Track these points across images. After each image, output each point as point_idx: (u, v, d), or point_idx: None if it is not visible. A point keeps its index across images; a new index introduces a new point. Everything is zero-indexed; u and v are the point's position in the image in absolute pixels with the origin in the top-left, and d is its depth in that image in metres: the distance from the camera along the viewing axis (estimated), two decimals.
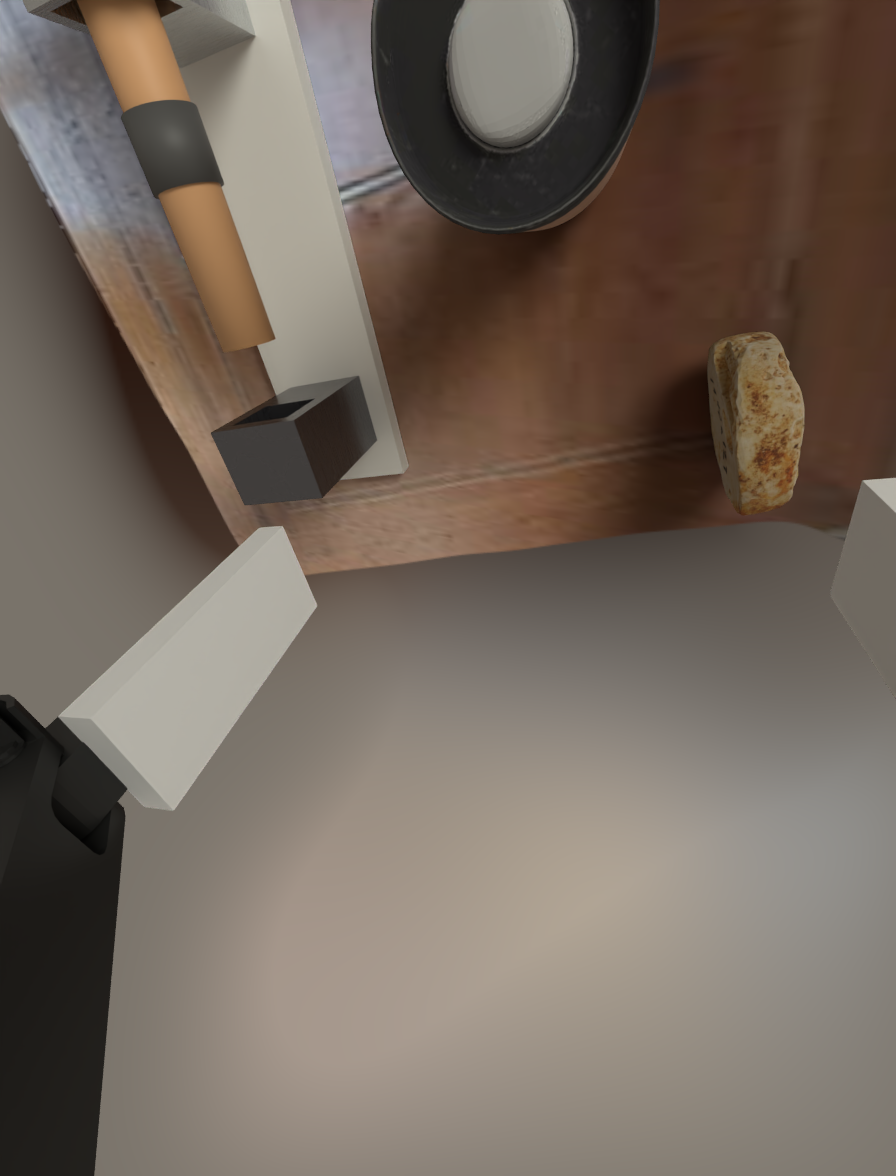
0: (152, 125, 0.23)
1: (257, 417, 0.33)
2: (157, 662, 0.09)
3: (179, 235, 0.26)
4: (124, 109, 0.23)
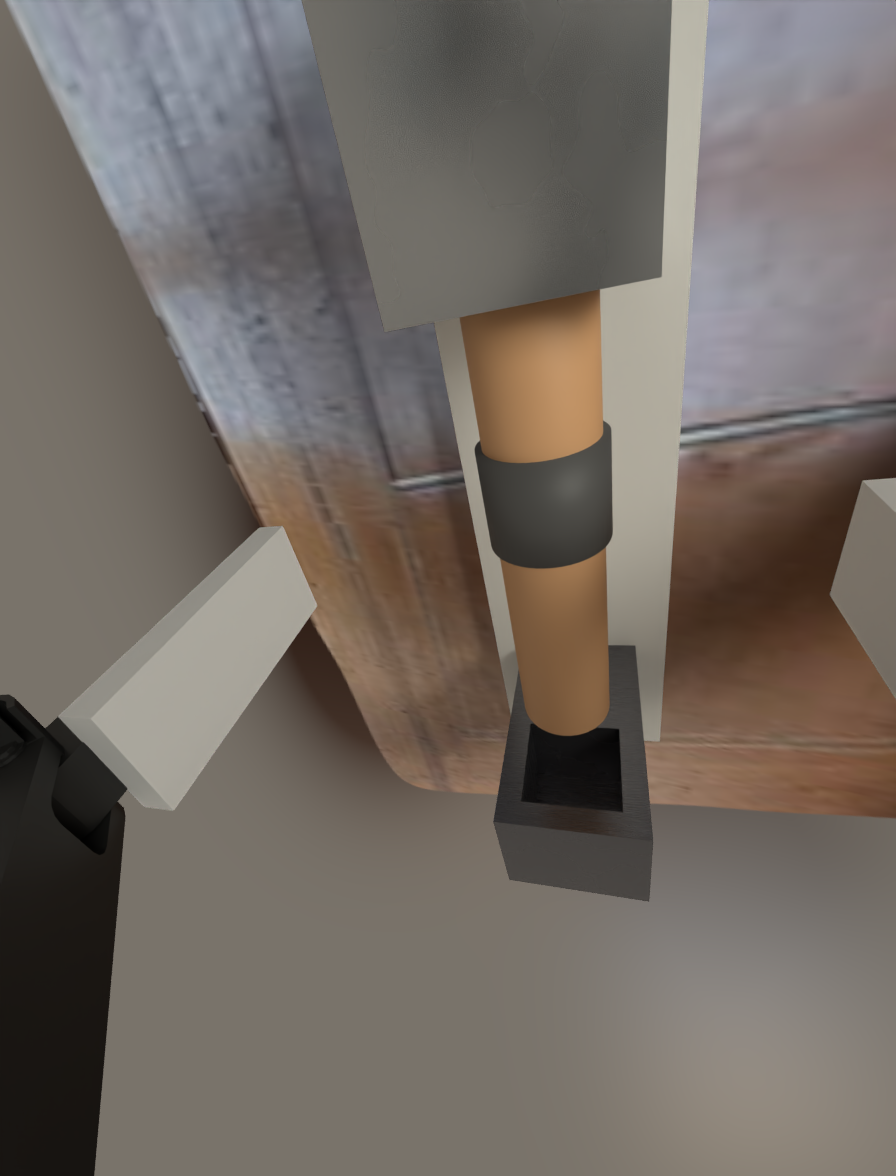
0: (555, 486, 0.12)
1: (528, 751, 0.23)
2: (157, 662, 0.09)
3: (532, 612, 0.15)
4: (500, 455, 0.12)
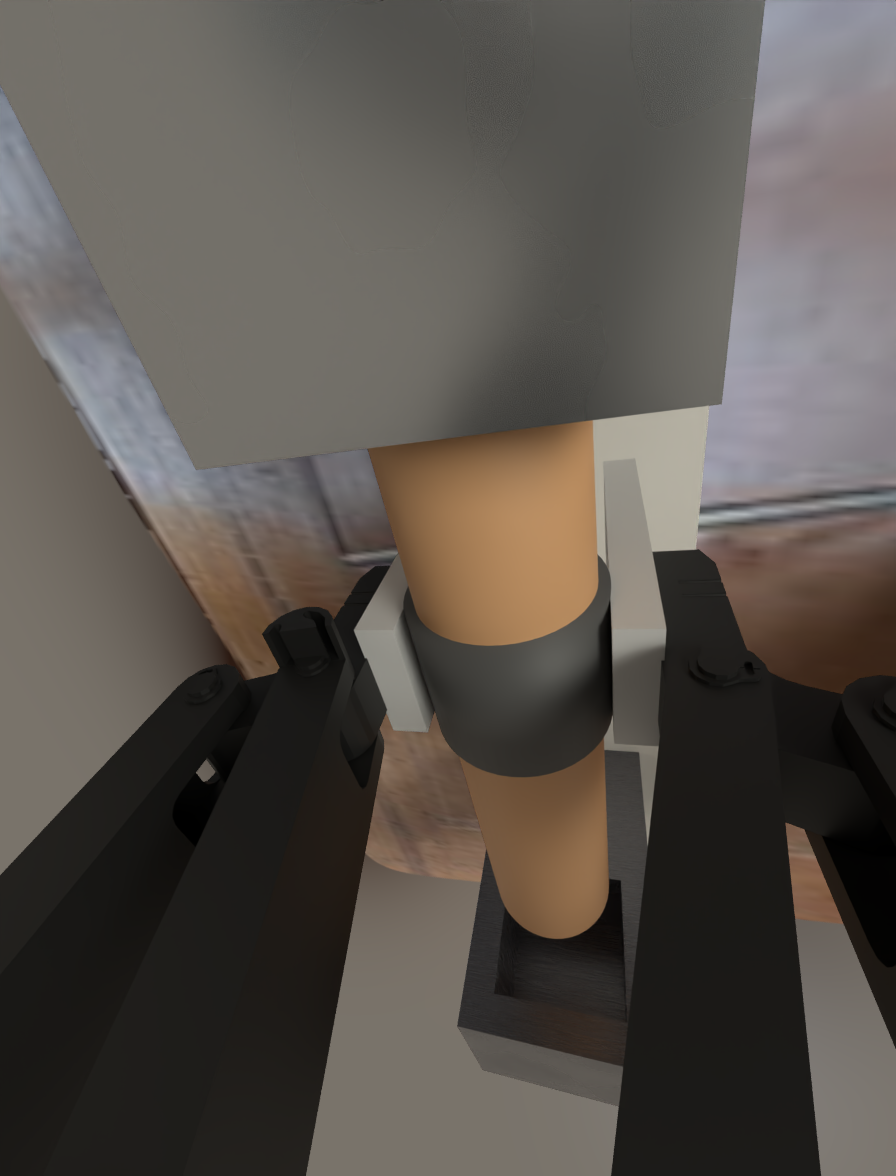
0: (523, 676, 0.08)
1: None
2: None
3: (497, 813, 0.10)
4: (435, 626, 0.08)
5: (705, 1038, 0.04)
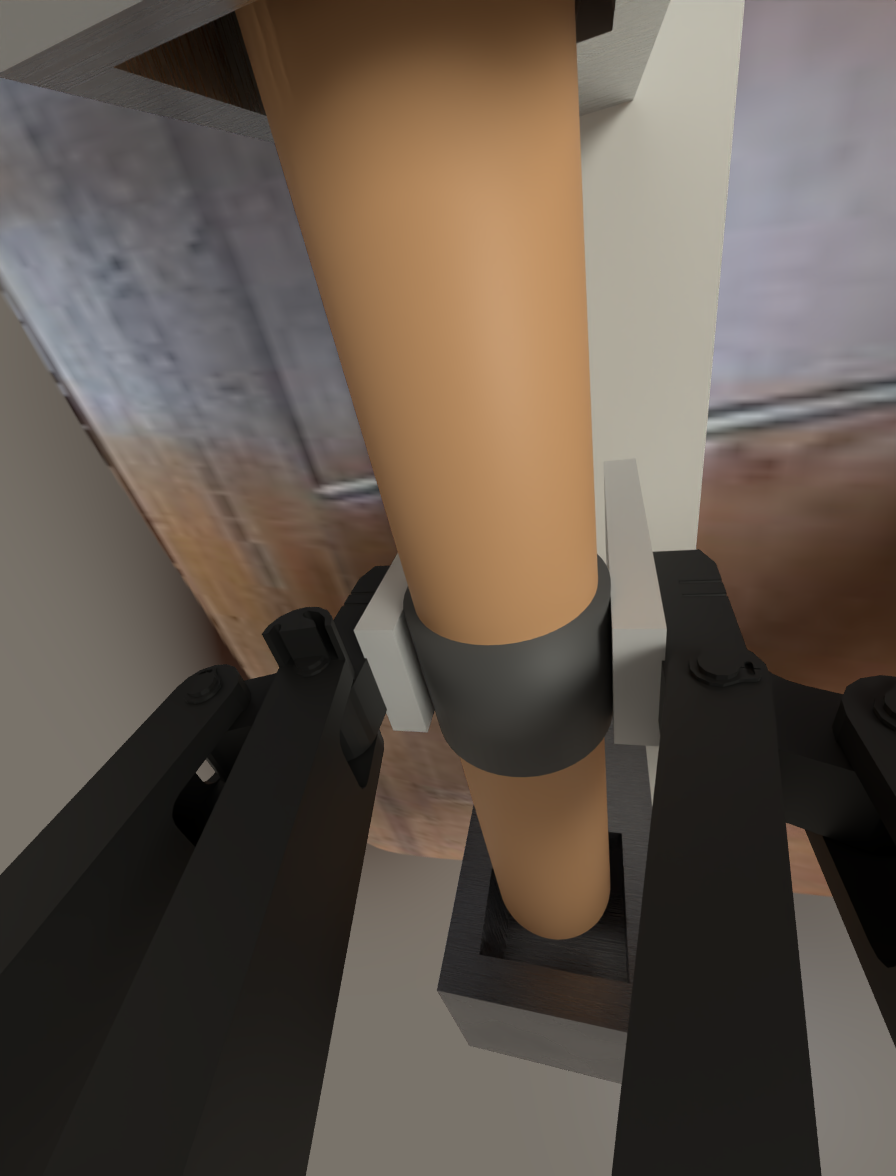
0: (522, 676, 0.08)
1: None
2: None
3: (498, 813, 0.10)
4: (435, 625, 0.08)
5: (705, 1037, 0.04)
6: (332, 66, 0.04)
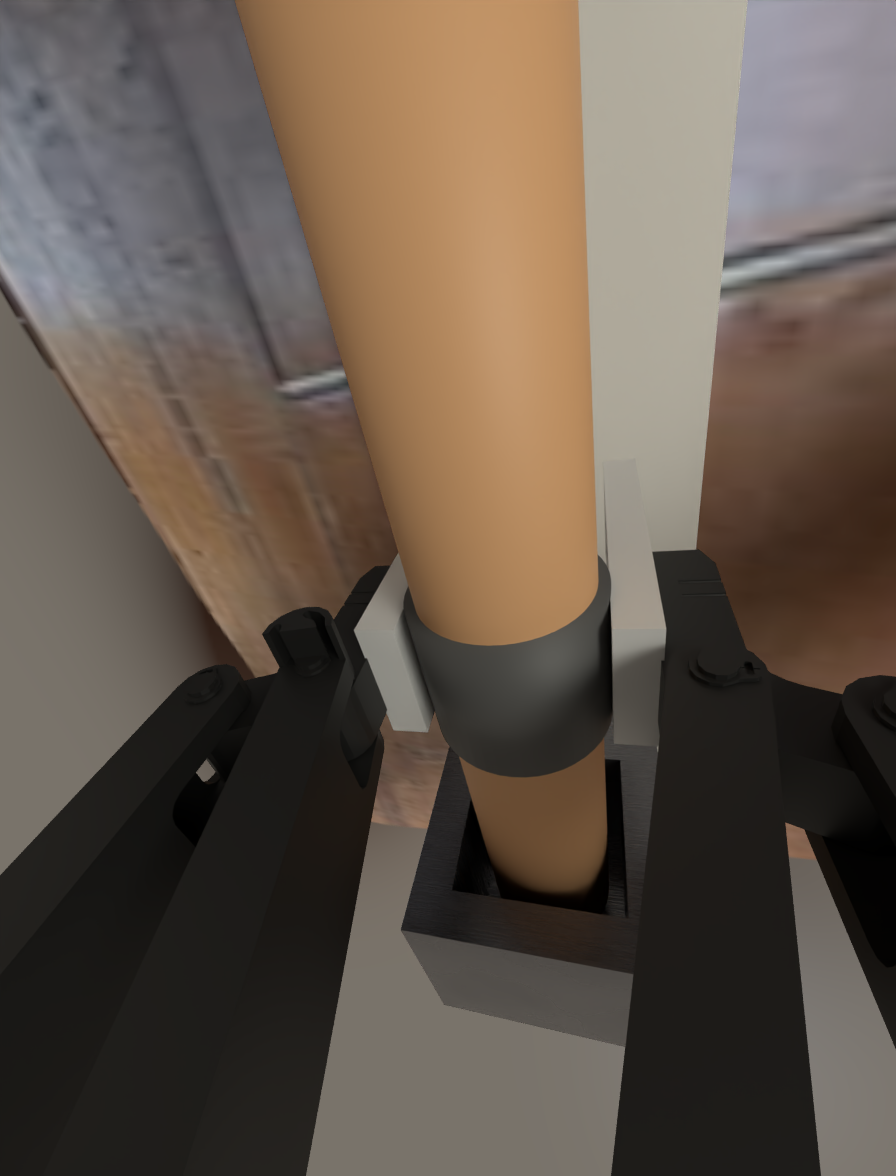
0: (523, 676, 0.08)
1: None
2: None
3: (497, 813, 0.10)
4: (435, 626, 0.08)
5: (704, 1037, 0.04)
6: (335, 65, 0.04)
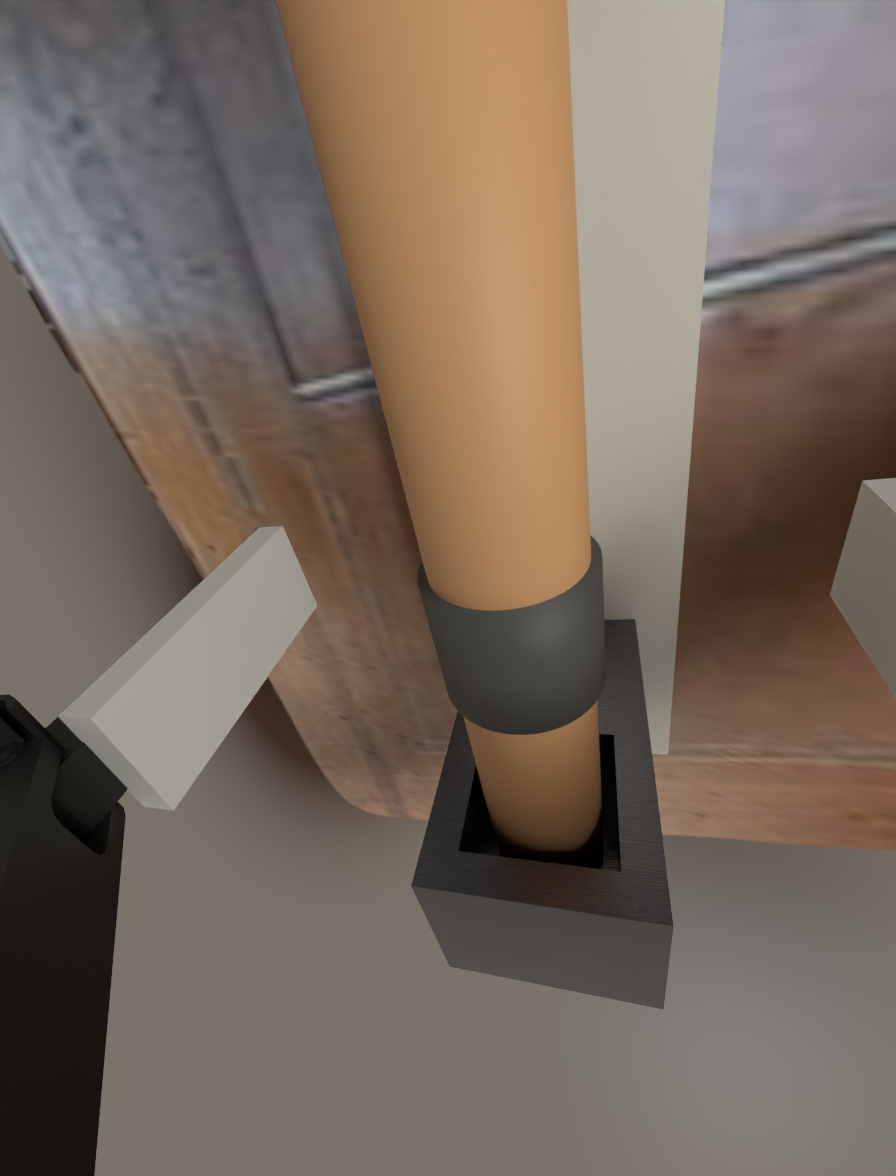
0: (525, 639, 0.09)
1: None
2: (157, 662, 0.09)
3: (500, 774, 0.11)
4: (448, 594, 0.09)
5: None
6: (379, 128, 0.05)
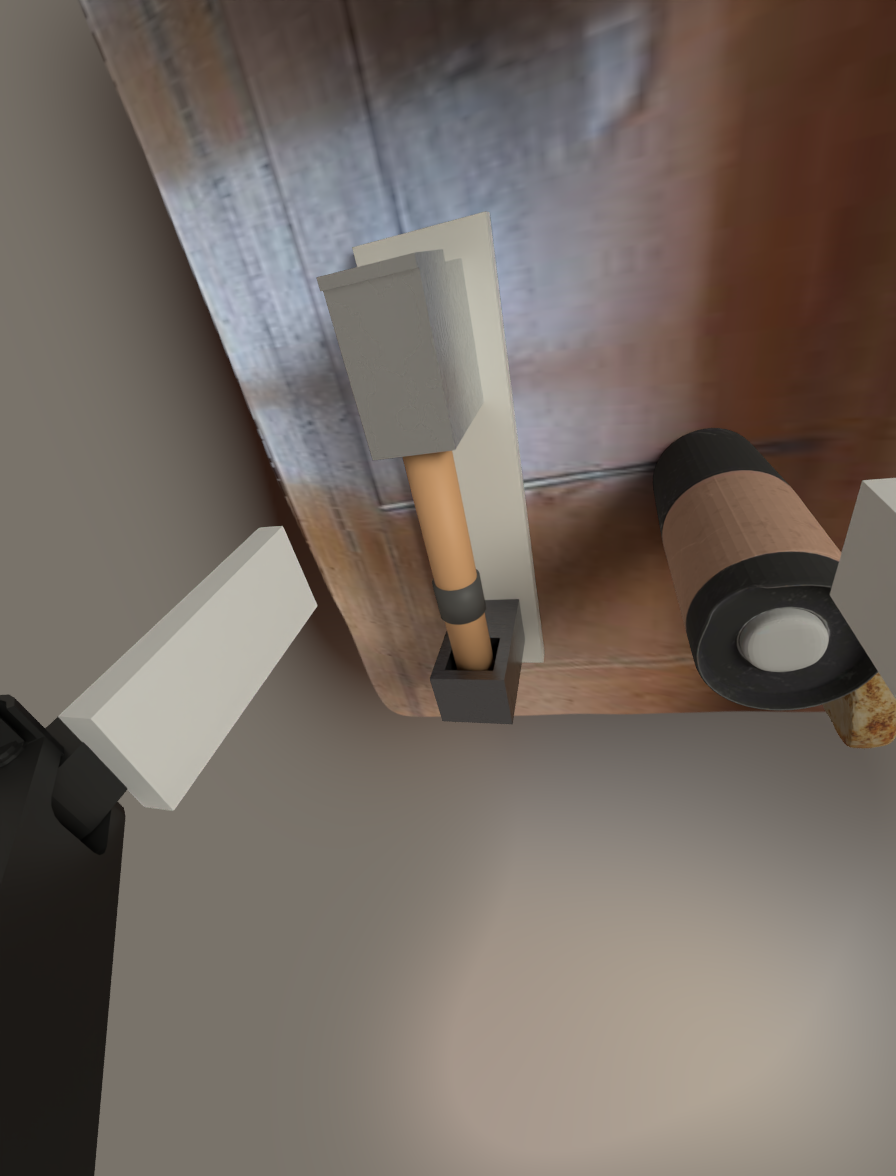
0: (459, 597, 0.36)
1: None
2: (157, 662, 0.09)
3: (456, 640, 0.38)
4: (440, 587, 0.36)
5: None
6: (428, 511, 0.32)
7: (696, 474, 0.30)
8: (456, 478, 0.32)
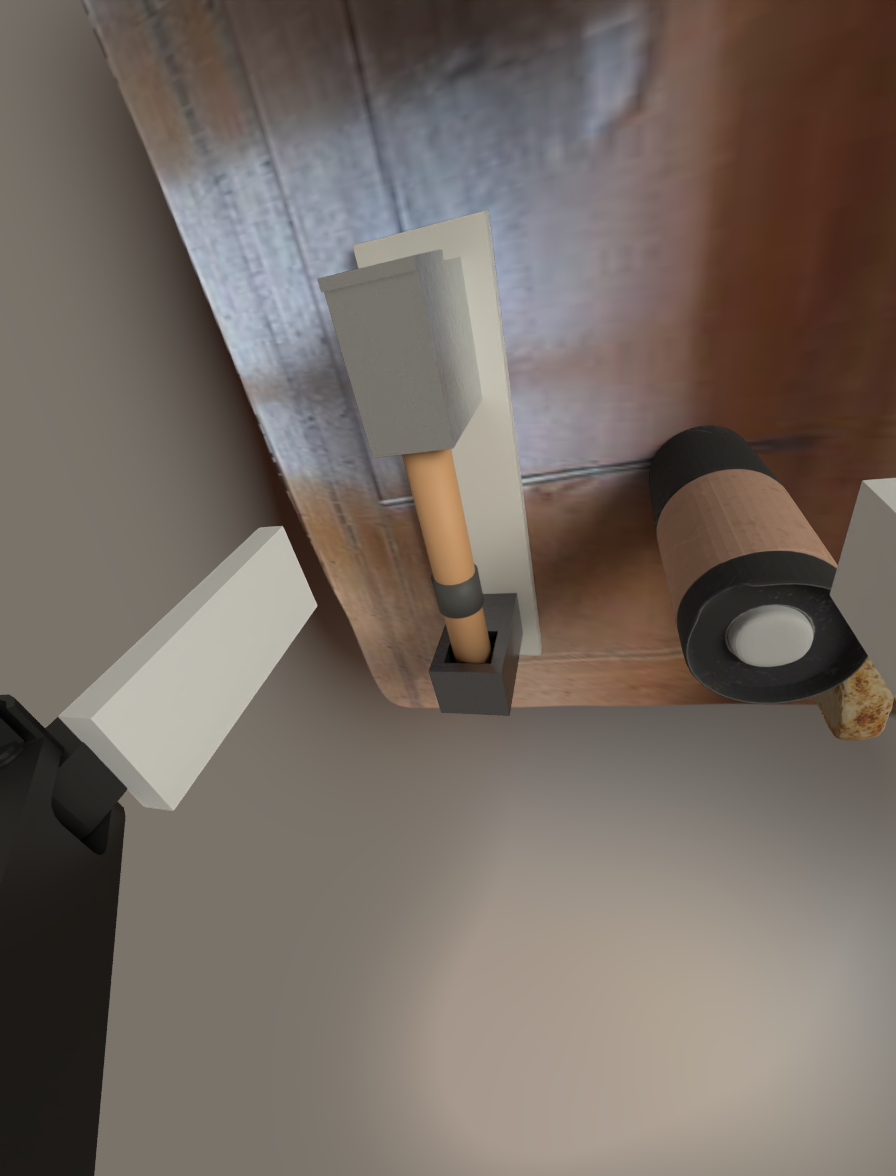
0: (457, 592, 0.37)
1: None
2: (157, 662, 0.09)
3: (454, 633, 0.39)
4: (438, 581, 0.37)
5: None
6: (427, 508, 0.33)
7: (690, 472, 0.31)
8: (455, 475, 0.33)
